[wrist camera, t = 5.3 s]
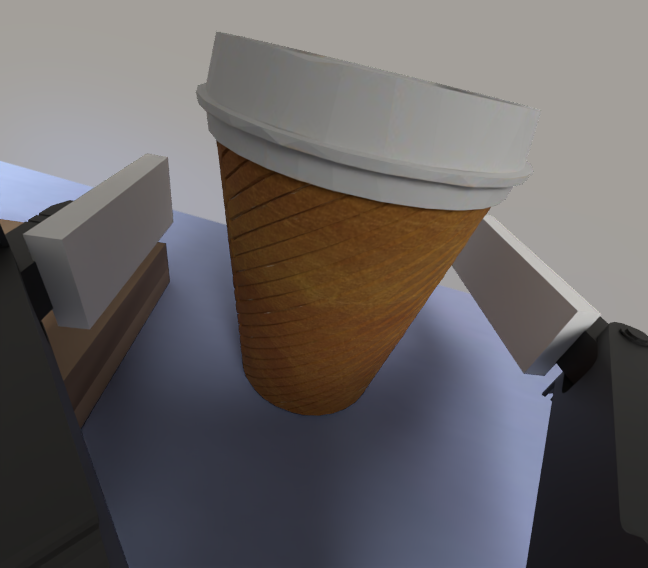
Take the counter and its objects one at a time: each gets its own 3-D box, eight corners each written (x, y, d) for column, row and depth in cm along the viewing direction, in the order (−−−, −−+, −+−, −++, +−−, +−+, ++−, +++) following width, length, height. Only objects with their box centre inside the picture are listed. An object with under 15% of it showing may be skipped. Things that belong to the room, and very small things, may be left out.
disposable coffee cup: (156, 361, 14) (99, 3, 7) (292, 277, 21) (329, 56, 14) (340, 517, 11) (571, 122, 4) (427, 354, 18) (563, 114, 11)
